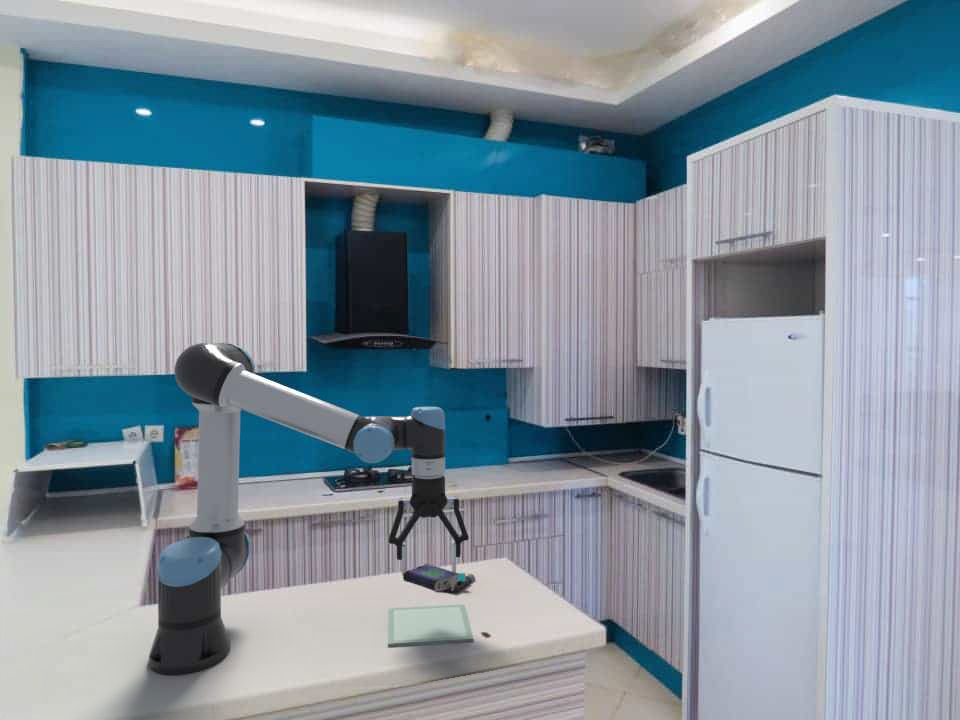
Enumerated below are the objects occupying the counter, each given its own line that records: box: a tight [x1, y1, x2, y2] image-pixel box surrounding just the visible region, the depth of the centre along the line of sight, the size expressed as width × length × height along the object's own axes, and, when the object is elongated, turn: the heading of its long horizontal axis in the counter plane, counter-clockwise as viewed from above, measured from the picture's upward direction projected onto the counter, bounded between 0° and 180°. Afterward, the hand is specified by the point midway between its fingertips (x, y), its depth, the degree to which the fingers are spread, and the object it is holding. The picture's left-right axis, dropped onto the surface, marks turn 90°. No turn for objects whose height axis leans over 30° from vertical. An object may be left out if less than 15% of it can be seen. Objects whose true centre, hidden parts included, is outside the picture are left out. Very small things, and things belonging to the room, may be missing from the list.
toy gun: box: [439, 572, 476, 594], centre depth 166 cm, size 10×12×5 cm
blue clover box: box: [402, 563, 460, 592], centre depth 140 cm, size 9×3×11 cm
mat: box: [387, 603, 474, 648], centre depth 142 cm, size 18×18×1 cm
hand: (428, 572), depth 143 cm, fingers closed on blue clover box, 11 cm apart
